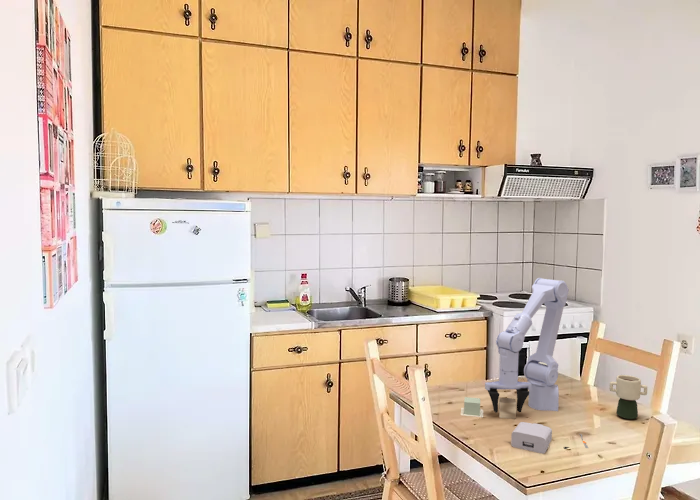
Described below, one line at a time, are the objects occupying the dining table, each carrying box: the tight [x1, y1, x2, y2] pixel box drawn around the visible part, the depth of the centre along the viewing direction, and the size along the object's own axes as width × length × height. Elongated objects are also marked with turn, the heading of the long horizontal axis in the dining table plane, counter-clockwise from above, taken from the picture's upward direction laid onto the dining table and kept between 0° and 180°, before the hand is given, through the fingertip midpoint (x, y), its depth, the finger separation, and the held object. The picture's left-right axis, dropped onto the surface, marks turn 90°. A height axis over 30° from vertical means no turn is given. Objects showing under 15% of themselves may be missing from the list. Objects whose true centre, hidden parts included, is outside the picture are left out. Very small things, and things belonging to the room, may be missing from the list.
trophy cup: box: [609, 374, 648, 420], centre depth 176 cm, size 11×7×13 cm, turn 68°
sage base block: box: [463, 396, 481, 416], centre depth 176 cm, size 5×5×4 cm
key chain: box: [563, 433, 589, 450], centre depth 156 cm, size 13×7×1 cm, turn 162°
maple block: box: [498, 396, 517, 420], centre depth 173 cm, size 5×5×5 cm
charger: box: [510, 421, 553, 454], centre depth 156 cm, size 5×9×15 cm
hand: (507, 411), depth 173 cm, fingers open, 7 cm apart
